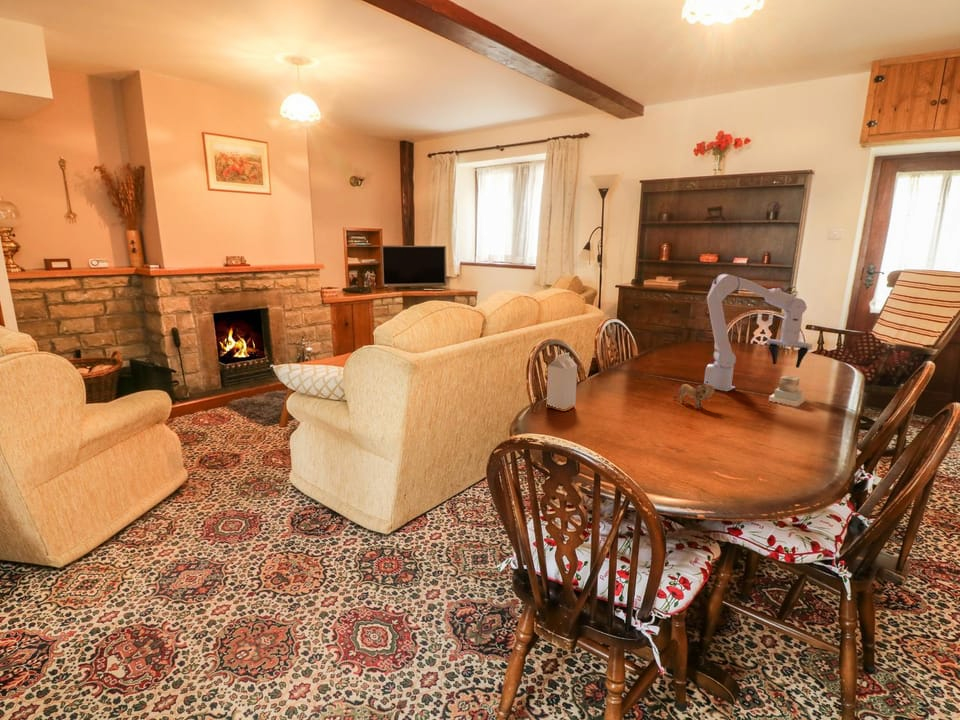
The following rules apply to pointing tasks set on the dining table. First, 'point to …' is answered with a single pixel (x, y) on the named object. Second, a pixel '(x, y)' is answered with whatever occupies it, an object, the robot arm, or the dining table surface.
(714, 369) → the robot arm
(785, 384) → the birch block
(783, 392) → the top slab
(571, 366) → the milk carton
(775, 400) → the bottom slab
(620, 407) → the dining table surface
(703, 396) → the lion figurine
